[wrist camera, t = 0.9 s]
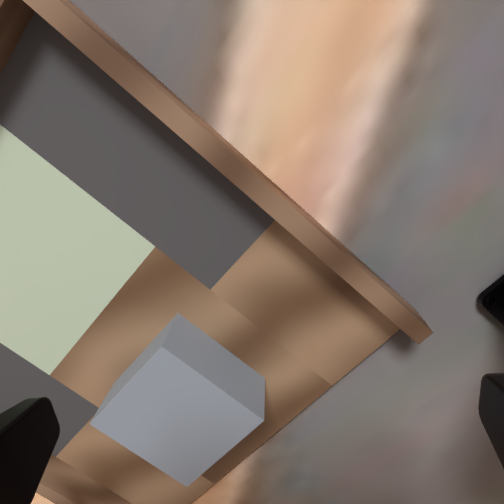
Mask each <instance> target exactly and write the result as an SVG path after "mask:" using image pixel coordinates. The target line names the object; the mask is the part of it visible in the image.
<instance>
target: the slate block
mask: <svg viewBox="0 0 504 504" xmlns="http://www.w3.org/2000/svg"><path fill="white" fill-rule="evenodd" d="M264 406H265V378H264V377H263V376H261V375H260V374H259V373H257V372H256V371H255V370H253V369H252V368H251V367H249V366H248V365H247V364H245V363H244V362H243V361H241V360H240V359H239V358H237V357H236V356H235V355H233V354H232V353H231V352H230V351H228V350H227V349H226V348H224V347H223V346H222V345H220V344H219V343H218V342H216V341H215V340H214V339H212V338H211V337H210V336H208V335H207V334H206V333H204V332H203V331H202V330H200V329H199V328H198V327H196V326H195V325H194V324H192V323H191V322H190V321H188V320H187V319H186V318H184V317H183V316H182V315H181V314H179V313H177V314H176V315H175V316H174V318H173V319H172V320H171V321H170V322H169V323H168V324H167V325H166V326H165V327H164V329H163V330H162V331H161V332H160V333H159V334H158V335H157V336H156V337H155V338H154V339H153V341H152V342H151V343H150V344H149V345H148V346H147V347H146V348H145V349H144V350H143V352H142V353H141V354H140V355H139V356H138V357H137V358H136V359H135V360H134V361H133V362H132V364H131V365H130V366H129V367H128V368H127V369H126V370H125V371H124V372H123V373H122V375H121V376H120V377H119V378H118V379H117V380H116V381H115V382H114V384H113V385H112V387H111V389H110V390H109V392H108V394H107V395H106V397H105V399H104V400H103V402H102V404H101V405H100V407H99V409H98V410H97V412H96V414H95V415H94V417H93V419H92V420H91V422H90V425H92V426H93V427H95V428H96V429H98V430H99V431H101V432H102V433H104V434H106V435H107V436H109V437H110V438H112V439H113V440H115V441H116V442H118V443H119V444H121V445H123V446H124V447H126V448H127V449H129V450H130V451H132V452H133V453H135V454H136V455H138V456H140V457H141V458H143V459H144V460H146V461H147V462H149V463H150V464H152V465H153V466H155V467H157V468H158V469H160V470H161V471H163V472H164V473H166V474H167V475H169V476H170V477H172V478H174V479H175V480H177V481H178V482H180V483H181V484H183V485H184V486H186V487H188V486H189V485H190V484H191V483H192V482H193V481H195V480H196V479H197V478H198V477H199V476H200V475H202V474H203V473H204V472H205V471H206V470H207V469H209V468H210V467H211V466H212V465H213V464H214V463H216V462H217V461H218V460H219V459H220V458H221V457H223V456H224V455H225V454H226V453H227V452H228V451H229V450H231V449H232V448H233V447H234V446H235V445H236V444H238V443H239V442H240V441H241V440H242V439H243V438H245V437H246V436H247V435H248V434H249V433H250V432H252V431H253V430H254V429H255V428H256V427H257V426H259V425H260V424H261V423H262V422H263V421H264Z"/></svg>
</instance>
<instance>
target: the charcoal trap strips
mask: <svg viewBox="0 0 504 504" xmlns="http://www.w3.org/2000/svg"><path fill="white" fill-rule="evenodd" d="M0 125H1V126H3V127H4V128H5V129H6V130H8V131H9V132H10V133H12V134H13V135H14V136H15V137H17V138H18V139H19V140H20V141H22V142H23V143H24V144H26V145H27V146H28V147H29V148H31V149H32V150H33V151H34V152H36V153H37V154H38V155H40V156H41V157H42V158H43V159H45V160H46V161H47V162H48V163H50V164H51V165H52V166H54V167H55V168H56V169H57V170H59V171H60V172H61V173H62V174H64V175H65V176H66V177H68V178H69V179H70V180H71V181H73V182H74V183H75V184H76V185H78V186H79V187H80V188H82V189H83V190H84V191H85V192H87V193H88V194H89V195H90V196H92V197H93V198H94V199H96V200H97V201H98V202H99V203H101V204H102V205H103V206H104V207H106V208H107V209H108V210H110V211H111V212H112V213H113V214H115V215H116V216H117V217H118V218H120V219H121V220H122V221H123V222H125V223H126V224H127V225H129V226H130V227H131V228H132V229H134V230H135V231H136V232H137V233H139V234H140V235H141V236H143V237H144V238H145V239H146V240H148V241H149V242H150V243H151V244H153V245H154V246H155V247H157V248H158V249H159V250H160V251H162V252H163V253H164V254H165V255H167V256H168V257H169V258H171V259H172V260H173V261H174V262H176V263H177V264H178V265H179V266H181V267H182V268H183V269H185V270H186V271H187V272H188V273H190V274H191V275H192V276H193V277H195V278H196V279H197V280H199V281H200V282H201V283H202V284H204V285H205V286H206V287H207V288H209V289H210V290H211V289H212V287H213V286H214V285H215V284H216V283H217V282H218V281H219V280H220V279H221V278H222V277H223V276H224V274H225V273H226V272H227V271H228V270H229V269H230V268H231V267H232V266H233V265H234V264H235V263H236V262H237V260H238V259H239V258H240V257H241V256H242V255H243V254H244V253H245V252H246V251H247V250H248V249H249V247H250V246H251V245H252V244H253V243H254V242H255V241H256V240H257V239H258V238H259V237H260V236H261V235H262V233H263V232H264V231H265V230H266V229H267V228H268V227H269V226H270V225H271V224H272V223H273V222H274V220H275V219H274V218H272V217H271V216H270V215H269V214H268V213H267V212H266V211H264V210H263V209H262V208H261V207H260V206H259V205H257V204H256V203H255V202H254V201H253V200H252V199H251V198H249V197H248V196H247V195H246V194H245V193H244V192H243V191H241V190H240V189H239V188H238V187H237V186H236V185H234V184H233V183H232V182H231V181H230V180H229V179H228V178H226V177H225V176H224V175H223V174H222V173H221V172H220V171H218V170H217V169H216V168H215V167H214V166H213V165H211V164H210V163H209V162H208V161H207V160H206V159H205V158H203V157H202V156H201V155H200V154H199V153H198V152H196V151H195V150H194V149H193V148H192V147H191V146H190V145H188V144H187V143H186V142H185V141H184V140H183V139H182V138H180V137H179V136H178V135H177V134H176V133H175V132H173V131H172V130H171V129H170V128H169V127H168V126H167V125H165V124H164V123H163V122H162V121H161V120H160V119H159V118H157V117H156V116H155V115H154V114H153V113H152V112H150V111H149V110H148V109H147V108H146V107H145V106H144V105H142V104H141V103H140V102H139V101H138V100H137V99H136V98H134V97H133V96H132V95H131V94H130V93H129V92H127V91H126V90H125V89H124V88H123V87H122V86H121V85H119V84H118V83H117V82H116V81H115V80H114V79H113V78H111V77H110V76H109V75H108V74H107V73H106V72H104V71H103V70H102V69H101V68H100V67H99V66H98V65H96V64H95V63H94V62H93V61H92V60H91V59H90V58H88V57H87V56H86V55H85V54H84V53H83V52H81V51H80V50H79V49H78V48H77V47H76V46H75V45H73V44H72V43H71V42H70V41H69V40H68V39H66V38H65V37H64V36H63V35H62V34H61V33H60V32H58V31H57V30H56V29H55V28H54V27H53V26H52V25H50V24H49V23H48V22H47V21H46V20H45V19H43V18H42V17H41V16H40V15H39V14H38V13H37V12H34V14H33V16H32V18H31V20H30V21H29V23H28V25H27V27H26V29H25V31H24V32H23V34H22V36H21V38H20V40H19V41H18V43H17V45H16V47H15V49H14V51H13V52H12V54H11V56H10V58H9V60H8V62H7V63H6V65H5V67H4V69H3V71H2V73H1V74H0ZM43 396H44V397H48V398H49V399H50V400H51V402H52V405H53V408H54V410H55V413H56V416H57V419H58V421H59V424H60V435H59V438H58V441H57V443H56V446H55V448H54V450H53V453H52V455H54V456H55V457H56V456H57V455H58V454H59V453H60V452H61V450H62V449H63V448H64V447H65V446H66V445H67V444H68V443H69V442H70V441H71V440H72V439H73V438H74V436H75V435H76V434H77V433H78V432H79V431H80V430H81V429H82V428H83V427H84V426H85V425H86V423H87V422H88V421H89V420H90V419H91V418H92V417H93V416H94V415H95V414H96V412H97V410H98V409H99V408H98V407H97V406H95V405H94V404H92V403H91V402H89V401H88V400H86V399H85V398H83V397H82V396H80V395H79V394H77V393H76V392H74V391H73V390H71V389H70V388H68V387H67V386H65V385H64V384H62V383H60V382H59V381H57V380H56V379H54V378H53V377H51V376H50V375H48V374H47V373H45V372H44V371H42V370H41V369H39V368H38V367H36V366H35V365H33V364H32V363H30V362H29V361H27V360H26V359H24V358H23V357H21V356H20V355H18V354H17V353H15V352H14V351H12V350H11V349H9V348H7V347H6V346H4V345H3V344H1V343H0V413H2V412H4V411H6V410H7V409H9V408H11V407H12V406H14V405H16V404H18V403H19V402H21V401H23V400H24V399H26V398H29V397H43Z"/></svg>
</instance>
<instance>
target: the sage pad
mask: <svg viewBox="0 0 504 504" xmlns="http://www.w3.org/2000/svg"><path fill="white" fill-rule="evenodd" d="M154 248H155V246H154V245H153V244H151V243H150V242H149V241H148V240H146V239H145V238H144V237H143V236H141V235H140V234H139V233H137V232H136V231H135V230H134V229H132V228H131V227H130V226H129V225H127V224H126V223H125V222H123V221H122V220H121V219H120V218H118V217H117V216H116V215H115V214H113V213H112V212H111V211H110V210H108V209H107V208H106V207H104V206H103V205H102V204H101V203H99V202H98V201H97V200H96V199H94V198H93V197H92V196H90V195H89V194H88V193H87V192H85V191H84V190H83V189H82V188H80V187H79V186H78V185H76V184H75V183H74V182H73V181H71V180H70V179H69V178H68V177H66V176H65V175H64V174H62V173H61V172H60V171H59V170H57V169H56V168H55V167H54V166H52V165H51V164H50V163H48V162H47V161H46V160H45V159H43V158H42V157H41V156H40V155H38V154H37V153H36V152H34V151H33V150H32V149H31V148H29V147H28V146H27V145H26V144H24V143H23V142H22V141H20V140H19V139H18V138H17V137H15V136H14V135H13V134H12V133H10V132H9V131H8V130H6V129H5V128H4V127H3V126H1V125H0V343H1V344H3V345H4V346H6V347H7V348H9V349H11V350H12V351H14V352H15V353H17V354H18V355H20V356H21V357H23V358H24V359H26V360H27V361H29V362H30V363H32V364H33V365H35V366H36V367H38V368H39V369H41V370H42V371H44V372H45V373H47V374H48V375H50V374H51V373H52V372H53V370H54V369H55V368H56V367H57V366H58V364H59V363H60V362H61V361H62V360H63V358H64V357H65V356H66V355H67V353H68V352H69V351H70V350H71V349H72V347H73V346H74V345H75V344H76V342H77V341H78V340H79V339H80V338H81V336H82V335H83V334H84V333H85V332H86V330H87V329H88V328H89V327H90V325H91V324H92V323H93V322H94V321H95V319H96V318H97V317H98V316H99V314H100V313H101V312H102V311H103V310H104V308H105V307H106V306H107V305H108V304H109V302H110V301H111V300H112V299H113V297H114V296H115V295H116V294H117V293H118V291H119V290H120V289H121V288H122V286H123V285H124V284H125V283H126V282H127V280H128V279H129V278H130V277H131V276H132V274H133V273H134V272H135V271H136V269H137V268H138V267H139V266H140V265H141V263H142V262H143V261H144V260H145V258H146V257H147V256H148V255H149V254H150V252H151V251H152V250H153V249H154Z"/></svg>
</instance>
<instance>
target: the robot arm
mask: <svg viewBox="0 0 504 504" xmlns="http://www.w3.org/2000/svg"><path fill="white" fill-rule="evenodd" d="M490 297H492V299H491V300H490V301H488V302H487V299H488V298H490ZM478 301H479V303H480V304H481V305H482V306H483V307H484V308H485V309H486V310H487V311H489V312H490V313H491V314H492V315H493V316H494V317H495V318H496V319H497V320H498V321H499V322H500V323H501V324H502V325H503V326H504V275H503V276H502V277H500V278H499V279H498V280H497V281H495V282H494V283H493V284H492V285H490V286H489V287H488V288H487V289H485V290H484V291H483V292H482V293H481V294H480V295H479V297H478ZM479 415H480V418H481V421H482V423H483V426H484V428H485V430H486V432H487V434H488V436H489V438H490V440H491V443H492V445H493V447H494V449H495V451H496V453H497V455H498V457H499V460H500V462H501V464H502V466H503V468H504V373H490V374H485V375H484V376H483V377H482V380H481V388H480V398H479ZM59 435H60V424H59V421H58V419H57V416H56V413H55V410H54V408H53V405H52V402H51V400H50V399H49V398H48V397H44V396H43V397H29V398H26V399H24V400H23V401H21V402H19V403H18V404H16V405H14V406H12V407H11V408H9V409H7V410H6V411H4V412H2V413H0V504H31V502H32V500H33V498H34V495H35V493H36V491H37V488H38V486H39V483H40V481H41V479H42V476H43V474H44V472H45V469H46V467H47V464H48V462H49V460H50V457H51V455H52V453H53V450H54V448H55V446H56V443H57V441H58V438H59Z"/></svg>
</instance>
